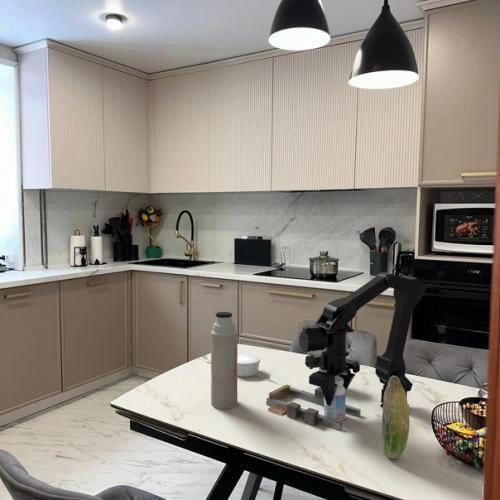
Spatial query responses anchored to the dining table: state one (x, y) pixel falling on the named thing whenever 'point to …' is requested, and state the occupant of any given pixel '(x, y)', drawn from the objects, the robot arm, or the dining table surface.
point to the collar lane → (310, 414)
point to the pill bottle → (337, 402)
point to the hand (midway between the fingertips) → (334, 401)
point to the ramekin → (247, 365)
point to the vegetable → (394, 419)
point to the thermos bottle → (224, 362)
